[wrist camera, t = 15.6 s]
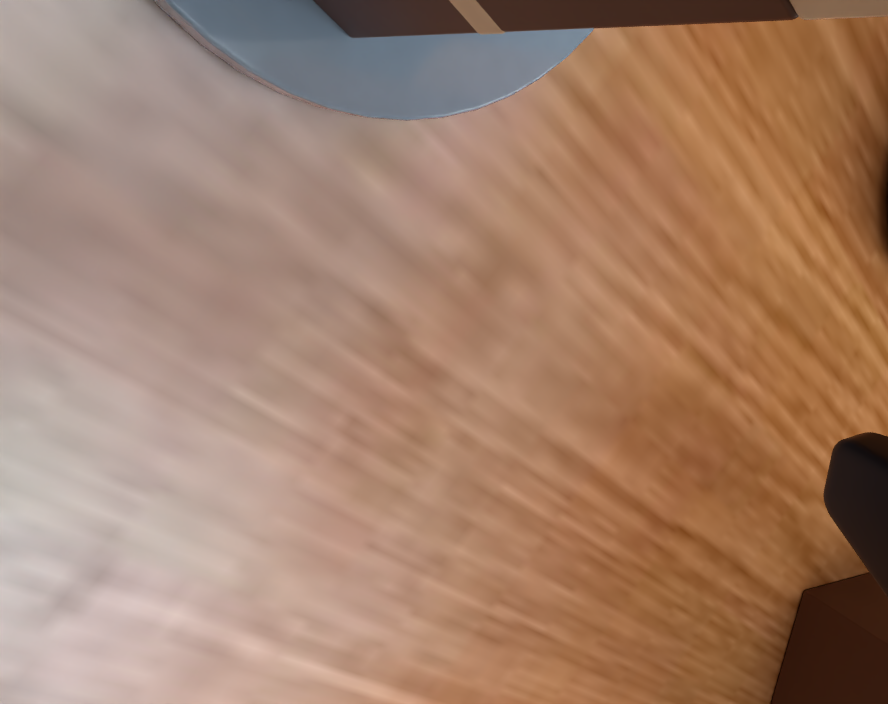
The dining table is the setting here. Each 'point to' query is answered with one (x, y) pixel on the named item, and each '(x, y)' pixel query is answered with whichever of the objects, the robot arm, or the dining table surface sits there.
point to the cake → (838, 646)
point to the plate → (369, 58)
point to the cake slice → (571, 14)
